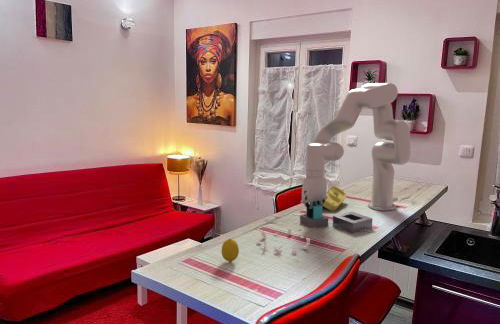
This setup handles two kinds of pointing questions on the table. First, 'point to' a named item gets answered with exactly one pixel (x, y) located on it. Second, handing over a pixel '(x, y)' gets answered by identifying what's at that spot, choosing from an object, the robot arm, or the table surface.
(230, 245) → the lemon
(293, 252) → the game piece set
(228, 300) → the table surface
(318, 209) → the plug
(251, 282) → the table surface
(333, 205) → the plastic component
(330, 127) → the robot arm
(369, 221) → the port
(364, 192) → the table surface
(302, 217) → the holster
